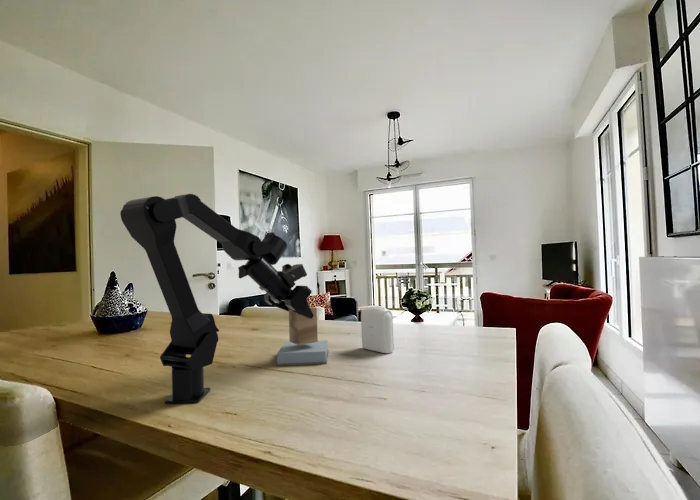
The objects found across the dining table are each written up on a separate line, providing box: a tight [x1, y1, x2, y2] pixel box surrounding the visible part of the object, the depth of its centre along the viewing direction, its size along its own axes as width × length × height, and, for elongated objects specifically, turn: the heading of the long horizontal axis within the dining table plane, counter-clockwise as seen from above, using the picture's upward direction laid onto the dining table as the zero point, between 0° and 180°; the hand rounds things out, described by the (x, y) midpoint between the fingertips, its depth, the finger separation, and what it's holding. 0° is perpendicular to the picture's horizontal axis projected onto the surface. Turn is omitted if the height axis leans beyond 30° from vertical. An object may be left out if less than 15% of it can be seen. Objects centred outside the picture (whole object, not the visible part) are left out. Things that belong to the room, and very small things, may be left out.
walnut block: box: [288, 305, 319, 345], centre depth 97 cm, size 6×6×9 cm
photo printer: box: [360, 305, 395, 354], centre depth 102 cm, size 10×4×12 cm, turn 39°
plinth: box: [276, 340, 329, 367], centre depth 97 cm, size 12×12×3 cm
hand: (307, 316), depth 97 cm, fingers closed on walnut block, 5 cm apart
